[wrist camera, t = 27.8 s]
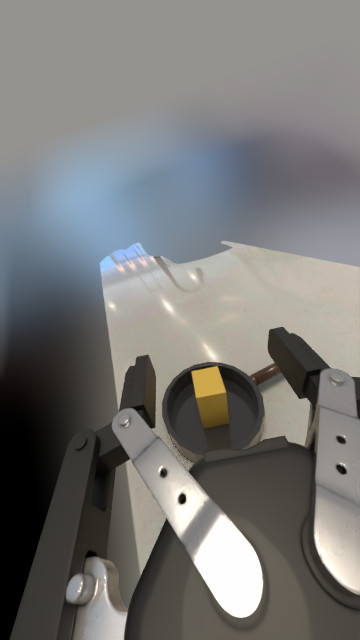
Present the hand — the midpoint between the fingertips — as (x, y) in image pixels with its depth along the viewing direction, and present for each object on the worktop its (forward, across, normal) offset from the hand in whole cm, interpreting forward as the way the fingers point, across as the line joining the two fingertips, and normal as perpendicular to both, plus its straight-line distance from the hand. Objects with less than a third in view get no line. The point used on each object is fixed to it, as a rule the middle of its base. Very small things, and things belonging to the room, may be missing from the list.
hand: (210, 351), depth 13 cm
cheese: (+10, 0, -25) cm, 27 cm away
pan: (+10, 0, -25) cm, 27 cm away
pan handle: (+14, +14, -23) cm, 30 cm away
